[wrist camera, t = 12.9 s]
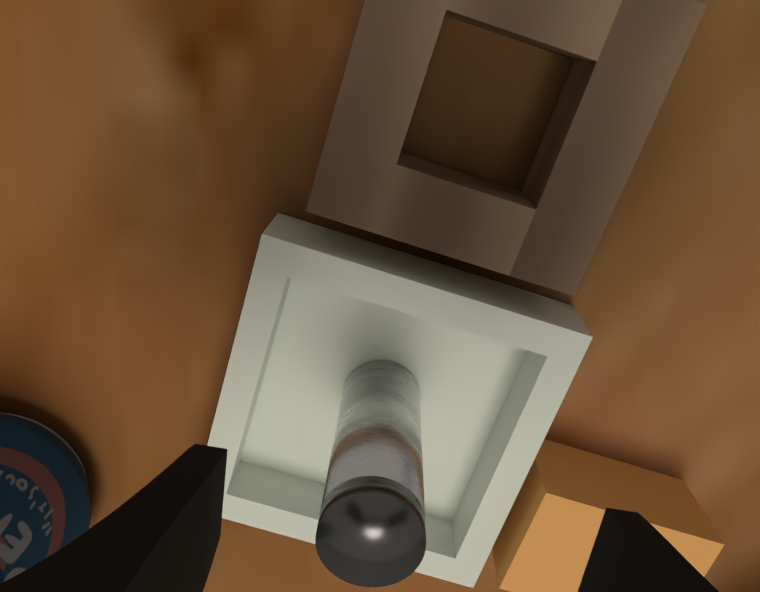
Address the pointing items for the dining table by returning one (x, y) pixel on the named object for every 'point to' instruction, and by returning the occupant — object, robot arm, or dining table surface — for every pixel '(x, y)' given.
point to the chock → (590, 518)
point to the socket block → (554, 156)
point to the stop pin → (375, 480)
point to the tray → (407, 347)
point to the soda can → (38, 494)
